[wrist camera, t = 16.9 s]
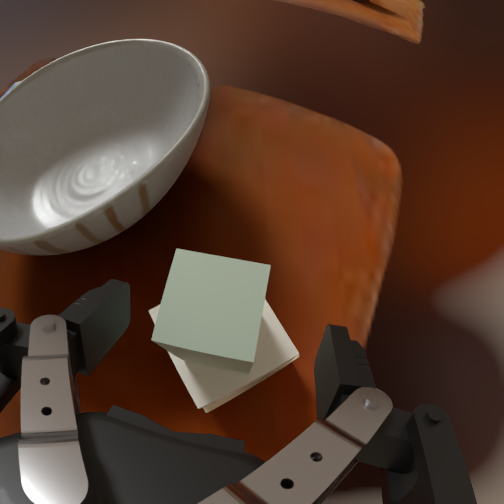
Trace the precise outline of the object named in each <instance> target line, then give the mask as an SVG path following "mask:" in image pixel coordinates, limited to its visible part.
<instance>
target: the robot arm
mask: <svg viewBox="0 0 504 504" xmlns="http://www.w3.org/2000/svg"><path fill="white" fill-rule="evenodd" d="M129 322H130V286H129V284H128V283H126V282H122V281H119V280H115V279H110V280H109V281H108V282H106V283H105V284H104V285H103V286H102V287H97V288H95V289H92V290H89V291H87V292H86V293H85V294H84V295H82V296H81V298H79V299H77V300H76V301H75V303H72V304H71V305H70V306H69V307H68V308H66V309H65V310H64V311H63V312H61V313H60V314H59V315H58V316H56V315H44V316H40V317H38V318H36V319H35V320H34V321H33V322H32V323H31V325H30V324H24V323H17V322H16V319H15V314H14V312H13V311H12V310H10V309H7V308H0V412H1V411H2V410H3V409H4V407H5V406H6V405H7V404H8V403H9V401H10V400H11V399H12V398H13V396H14V395H15V394H16V393H17V392H18V390H19V389H20V388H21V432H20V433H16V434H13V435H9V436H5V437H2V438H0V504H321V503H322V502H323V501H324V500H325V499H326V498H327V496H328V495H329V494H330V493H331V492H332V491H333V490H334V489H335V487H336V486H337V485H338V484H339V483H340V482H341V481H342V479H343V478H344V477H345V476H346V475H347V474H348V473H349V471H350V470H351V469H352V468H353V467H354V465H355V464H356V463H357V462H358V461H360V462H363V463H367V464H370V465H374V466H377V467H379V469H380V478H381V488H382V499H383V504H477V502H476V498H475V495H474V491H473V488H472V484H471V481H470V478H469V474H468V471H467V468H466V465H465V462H464V459H463V456H462V453H461V450H460V447H459V444H458V441H457V438H456V435H455V433H454V430H453V427H452V424H451V422H450V420H449V417H448V415H447V414H446V413H445V412H444V411H443V410H442V409H441V408H439V407H437V406H435V405H430V404H423V405H420V406H418V407H417V408H416V410H415V411H414V413H409V412H405V411H402V410H399V409H396V408H393V407H392V402H391V400H390V398H389V397H388V396H387V395H386V394H385V393H383V392H382V391H380V390H378V389H376V387H375V384H374V380H373V377H372V374H371V370H370V367H369V363H368V360H367V357H366V354H365V350H364V349H363V347H362V346H361V345H360V344H359V343H358V342H357V341H353V340H350V337H349V333H348V330H347V327H343V326H337V325H331V324H328V325H327V326H326V329H325V332H324V335H323V338H322V341H321V344H320V347H319V350H318V353H317V356H316V360H315V366H314V375H315V389H316V406H317V420H316V421H315V422H314V423H313V424H312V425H311V426H310V427H308V428H307V429H306V430H305V431H304V432H303V433H301V434H300V435H299V436H298V437H297V438H296V439H294V440H293V441H292V442H291V443H289V444H288V445H287V446H286V447H285V448H283V449H282V450H281V451H280V452H278V453H277V454H276V455H275V456H273V457H272V458H271V459H269V460H268V461H267V462H264V461H263V460H261V459H260V458H258V457H257V456H255V455H253V454H251V453H249V452H246V451H244V446H245V441H242V440H237V439H232V438H227V437H222V436H218V435H213V434H199V433H182V432H174V431H171V430H169V429H167V428H165V427H163V426H161V425H159V424H158V423H156V422H154V421H152V420H150V419H149V418H147V417H145V416H143V415H141V414H138V413H135V412H132V411H129V410H126V409H123V408H121V407H118V406H115V405H112V407H111V408H110V410H109V412H108V413H105V412H87V413H82V408H81V402H80V397H79V391H78V384H77V379H76V375H75V374H76V373H77V372H78V373H81V374H83V375H86V376H89V375H90V374H91V372H92V371H93V370H94V369H95V367H96V366H97V365H98V364H99V363H100V361H101V360H102V359H103V358H104V356H105V355H106V354H107V353H108V352H109V350H110V349H111V348H112V347H113V345H114V344H115V343H116V342H117V341H118V339H119V338H120V337H121V336H122V335H123V333H124V332H125V331H126V330H127V328H128V326H129Z"/></svg>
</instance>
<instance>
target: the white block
mask: <svg viewBox="0 0 504 504" xmlns="http://www.w3.org/2000/svg"><path fill="white" fill-rule="evenodd" d="M159 308H160V305H158V306H156V307H154V308H152V309H150V310H148V311H149V313H150V315H151V317H152V319H153V322H154V324H155V323H156V319H157V316H158V312H159ZM168 353H169V355H170V357H171V359H172V361H173V363H174V365H175V367H176V369H177V371H178V373H179V375H180V376H181V378H182V380H183V382H184V384H185V386H186V388H187V390H188V391H189V393H190V395H191V397H192V399H193V401H194V402H195V404H196V406H197V408H198V409H199V408H203V407H206V406H208V405H210V404H212V403H214V402H216V401H218V400H220V399H222V398H224V397H226V396H228V395H230V394H232V393H234V392H236V391H237V390H239V389H241V388H243V387H245V386H247V385H249V384H250V383H252V382H254V381H256V380H258V379H259V378H261V377H263V376H265V375H267V374H268V373H270V372H272V371H274V370H275V369H277V368H279V367H281V366H282V365H284V364H286V363H287V362H289V361H290V360H292V359H293V358H294V357H296V356H297V355H298V354H299V352H298V351H297V349H296V348H295V346H294V344H293V343H292V341H291V340H290V338H289V336H288V335H287V333H286V332H285V330H284V328H283V327H282V325H281V324H280V322H279V320H278V319H277V317H276V315H275V314H274V312H273V311H272V309H271V307H270V306H269V304H268V303H267V301H266V299H265V301H264V307H263V313H262V319H261V324H260V330H259V336H258V341H257V347H256V352H255V358H254V363H253V365H252V368H251V370H250V373H249V374H244V373H238V372H233V371H228V370H223V369H218V368H213V367H208V366H203V365H199V364H194V363H190V362H186V361H183V360H181V359H180V358H178V357H177V356H175V355H173V354H172V353H170V352H169V351H168Z"/></svg>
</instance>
